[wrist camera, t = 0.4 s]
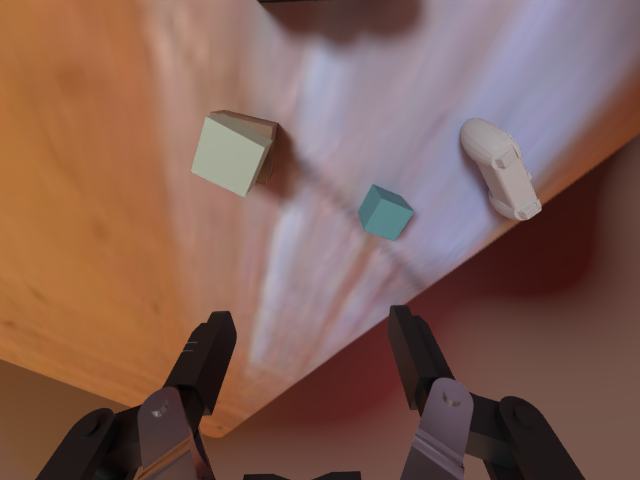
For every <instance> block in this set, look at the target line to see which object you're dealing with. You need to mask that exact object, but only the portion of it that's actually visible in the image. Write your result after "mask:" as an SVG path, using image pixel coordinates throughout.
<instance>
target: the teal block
mask: <svg viewBox="0 0 640 480" xmlns="http://www.w3.org/2000/svg"><path fill="white" fill-rule="evenodd" d="M413 213H414V211H413V210H412V209H411V207H410V206H409V205H408V204H407V203H406V201H405V200H404V199H403V198H402V197H401V196H399V195H397V194H395V193H392V192H390V191H388V190H385V189H383V188H380V187H378V186H376V185H372V186H371V188H370V190H369V192H368V194H367V196H366V198H365V200H364V201H363V203H362V205H361V207H360V209H359V211H358V215H359V218H360V221H361V224H362V226H363V229H364V230H365V231H368V232H371V233H373V234H376V235H379V236H381V237H384V238H387V239H389V240H392V241H395V240H396V239H397V237H398V236H399V234H400V233H401V231H402V230H403V228H404V227H405V225H406V224H407V222H408V221H409V219H410V217H411V216H412V214H413Z"/></svg>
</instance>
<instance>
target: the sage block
mask: <svg viewBox="0 0 640 480" xmlns="http://www.w3.org/2000/svg"><path fill="white" fill-rule="evenodd" d="M272 141H273V140H271V139H269V138H267V137H265V136H264V135H262V134H260V133H258V132H256V131H255V130H253V129H251V128H249V127H247V126H245V125H244V124H242V123H240V122H238V121H236V120H234V119H233V118H231V117H229V116H227V115H225V114H218V115H212V116H206V119H205V122H204V126H203V129H202V133H201V137H200V140H199V144H198V148H197V151H196V155H195V159H194V162H193V166H192V169H191V172H192V173H194V174H196V175H198V176H200V177H202V178H204V179H207V180H209V181H211V182H213V183H215V184H217V185H219V186H221V187H224V188H226V189H228V190H230V191H232V192H234V193H236V194H238V195H240V196H243V197H245V196H246V195H247V194H248V192H249V191H250V190H251V188H252V187H253V186H254V184H255V182H256V180H257V177H258V175H259V172H260V170H261V168H262V165H263V163H264V160H265V158H266V155H267V153H268V151H269V148H270V146H271V143H272Z"/></svg>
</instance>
